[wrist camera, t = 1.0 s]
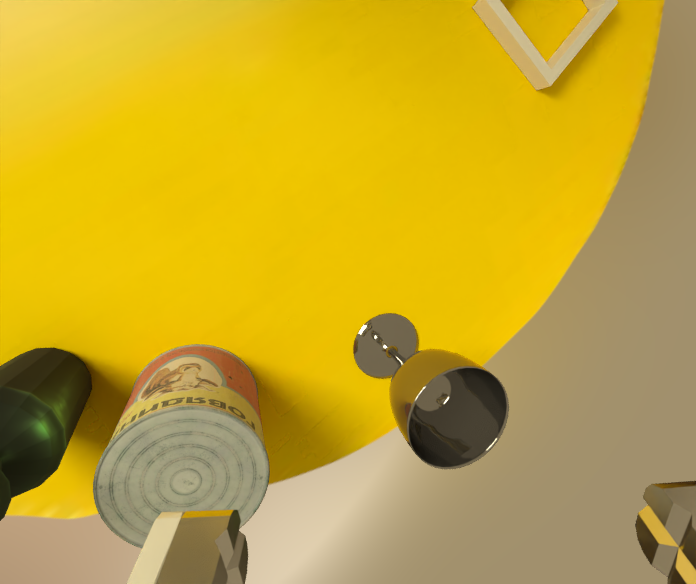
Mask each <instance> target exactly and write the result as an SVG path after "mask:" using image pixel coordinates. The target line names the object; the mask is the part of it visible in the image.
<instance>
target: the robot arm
mask: <svg viewBox="0 0 696 584" xmlns="http://www.w3.org/2000/svg"><path fill="white" fill-rule="evenodd" d="M643 498H644V500H645V501H646V502H647V504H648V505H647V506H646V507H645V508H644V509H642V510H641V511H640V512H639V513H638V516H637V520H636V524H635V527H636V532H637V537H638V541H639V543H640V546H641V548H642V550H643V553H644V554H645V556H646V557H647V559H648V561H649V562H650V564H651V565H652V566H653V567H654V568H656V569H657V570H658V571H660V572H661V573H663V574H664V575H665V576H667V577H668V584H696V481H686V482H672V483H659V484H651V485H650V486H648V487H647V488H646V489H645V492H644V496H643ZM240 523H241V519H240V515H239V512H238V510H206V511H178V512H161V514H160V515H159V516H158V517H157V518H156V520H155V521H154V523H153V525H152V528H151V530H150V532H149V534H148V537H147V539H146V541H145V543H144V546H143V548H142V550H141V552H140V555H139V557H138V559H137V562H136V564H135V566H134V568H133V571H132V573H131V575H130V577H129V579H128V582H127V584H245V580H246V574H247V564H248V548H247V541H246V537H245V535H244V534H242V533H241V532H240V531H239V528H240Z"/></svg>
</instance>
